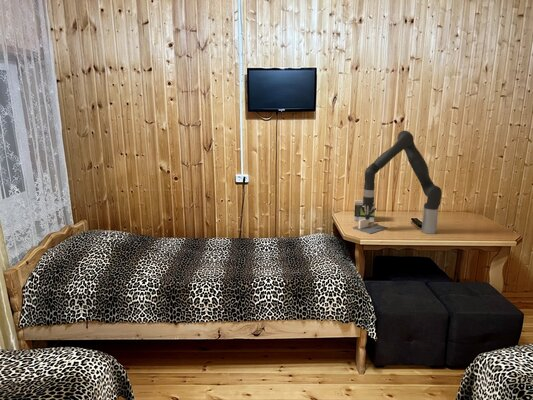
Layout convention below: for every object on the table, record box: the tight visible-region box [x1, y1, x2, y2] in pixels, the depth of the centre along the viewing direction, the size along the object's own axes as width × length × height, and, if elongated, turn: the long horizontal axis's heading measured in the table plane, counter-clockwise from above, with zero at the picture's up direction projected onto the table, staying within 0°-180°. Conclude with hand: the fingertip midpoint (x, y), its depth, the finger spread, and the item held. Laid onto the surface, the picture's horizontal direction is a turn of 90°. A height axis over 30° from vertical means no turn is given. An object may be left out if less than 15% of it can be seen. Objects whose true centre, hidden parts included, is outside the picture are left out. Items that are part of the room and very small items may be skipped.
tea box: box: [353, 199, 376, 222], centre depth 292 cm, size 15×10×15 cm, turn 76°
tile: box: [357, 218, 368, 229], centre depth 273 cm, size 6×2×9 cm
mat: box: [352, 224, 389, 235], centre depth 273 cm, size 20×16×1 cm
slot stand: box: [368, 220, 379, 227], centre depth 279 cm, size 7×6×2 cm
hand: (367, 219), depth 270 cm, fingers closed
